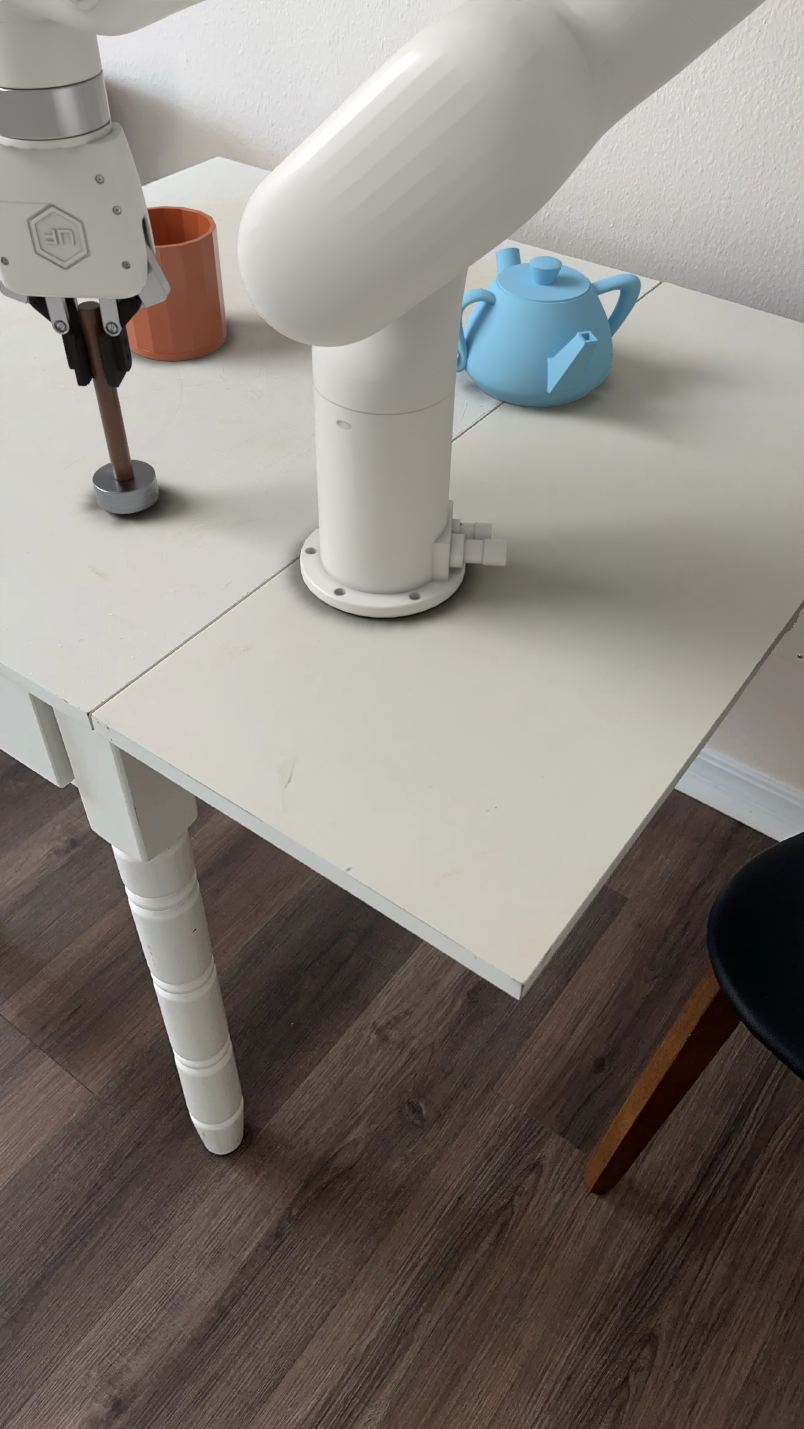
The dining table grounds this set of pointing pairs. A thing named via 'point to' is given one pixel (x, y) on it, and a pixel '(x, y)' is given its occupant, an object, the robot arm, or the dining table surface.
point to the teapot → (541, 331)
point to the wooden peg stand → (114, 434)
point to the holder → (183, 289)
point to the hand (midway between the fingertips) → (103, 376)
